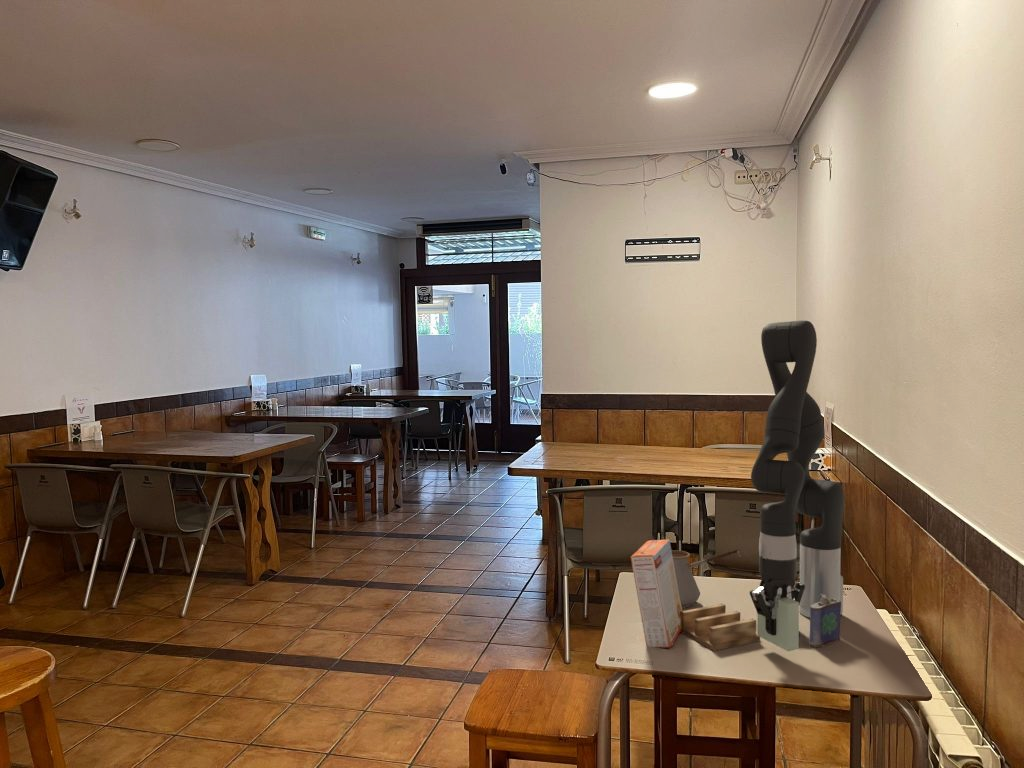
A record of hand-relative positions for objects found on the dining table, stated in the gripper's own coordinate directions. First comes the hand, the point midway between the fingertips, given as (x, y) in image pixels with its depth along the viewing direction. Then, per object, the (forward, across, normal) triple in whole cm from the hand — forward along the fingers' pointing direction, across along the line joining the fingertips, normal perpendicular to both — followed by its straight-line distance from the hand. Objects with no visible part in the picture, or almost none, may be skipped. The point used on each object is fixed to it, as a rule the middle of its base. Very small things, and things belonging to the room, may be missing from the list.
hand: (777, 632), depth 155 cm
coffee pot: (+6, -4, -32) cm, 33 cm away
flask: (+6, -14, -1) cm, 16 cm away
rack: (+5, +4, -14) cm, 16 cm away
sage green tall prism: (+2, 0, 0) cm, 2 cm away
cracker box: (+5, +16, -18) cm, 25 cm away
